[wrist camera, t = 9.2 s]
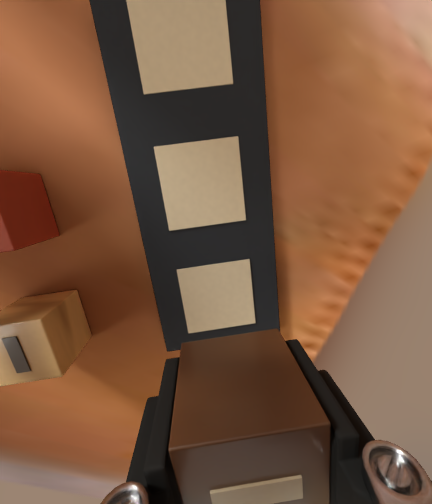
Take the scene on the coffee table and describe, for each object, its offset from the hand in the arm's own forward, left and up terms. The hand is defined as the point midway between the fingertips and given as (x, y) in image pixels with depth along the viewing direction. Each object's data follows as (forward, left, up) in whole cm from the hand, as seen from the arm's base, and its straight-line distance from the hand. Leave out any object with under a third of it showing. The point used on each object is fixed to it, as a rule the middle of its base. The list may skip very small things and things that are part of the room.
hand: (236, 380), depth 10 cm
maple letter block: (-12, 0, -8) cm, 15 cm away
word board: (0, +7, -8) cm, 11 cm away
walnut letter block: (0, 0, 0) cm, 0 cm away
